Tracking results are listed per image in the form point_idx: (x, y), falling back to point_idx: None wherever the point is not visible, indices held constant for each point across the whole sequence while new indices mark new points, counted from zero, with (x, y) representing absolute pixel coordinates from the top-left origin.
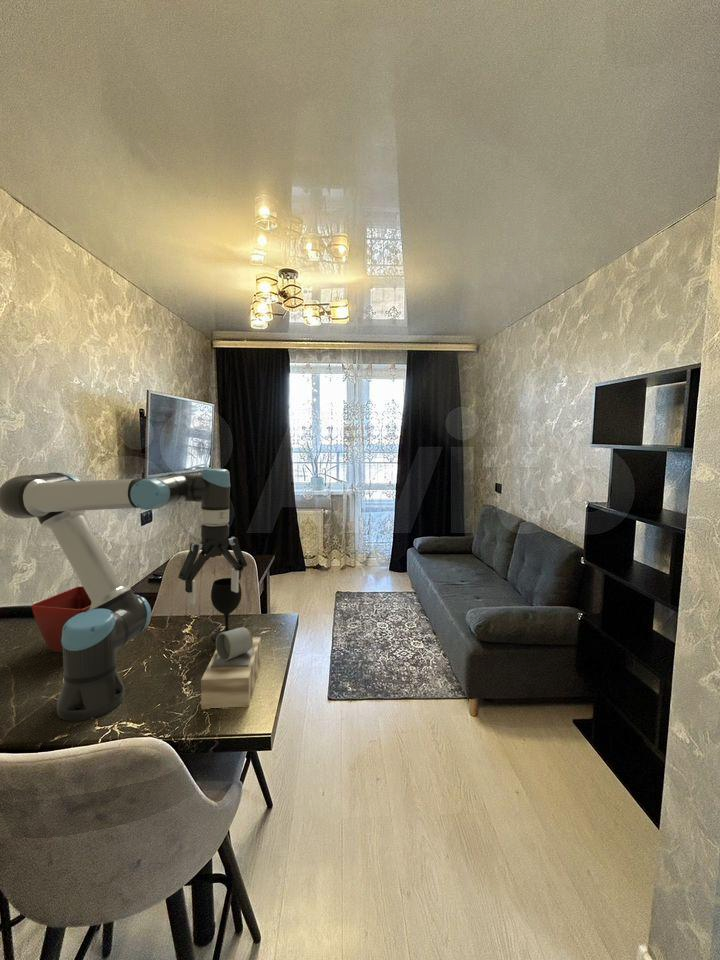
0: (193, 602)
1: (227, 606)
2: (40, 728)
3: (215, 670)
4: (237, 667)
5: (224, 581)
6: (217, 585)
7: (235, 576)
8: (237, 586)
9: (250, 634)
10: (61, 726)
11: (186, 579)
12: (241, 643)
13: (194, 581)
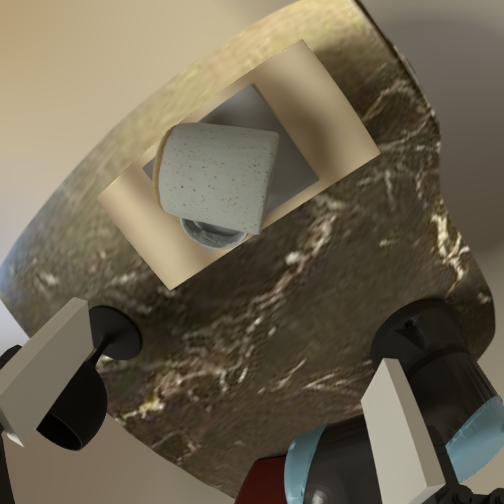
0: (399, 368)
1: (84, 372)
2: (473, 336)
3: (323, 154)
4: (274, 107)
5: (51, 433)
6: (78, 436)
7: (28, 380)
8: (58, 320)
9: (168, 135)
10: (467, 319)
11: (475, 499)
12: (227, 127)
13: (437, 482)
